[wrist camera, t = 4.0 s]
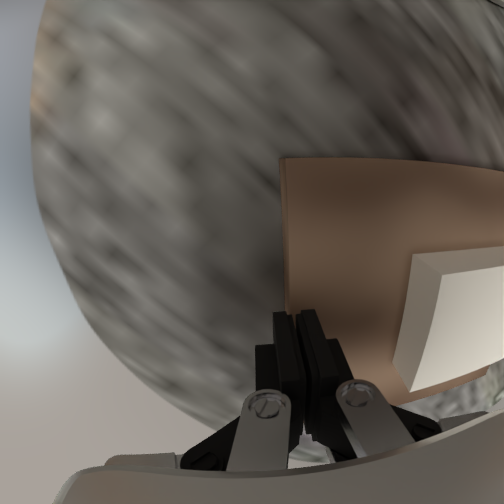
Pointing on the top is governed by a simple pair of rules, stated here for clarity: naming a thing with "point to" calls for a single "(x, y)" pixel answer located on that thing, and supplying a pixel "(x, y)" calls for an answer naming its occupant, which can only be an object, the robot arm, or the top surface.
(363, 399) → the robot arm
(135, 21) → the top surface
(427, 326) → the tile
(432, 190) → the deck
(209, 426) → the top surface
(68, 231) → the top surface
